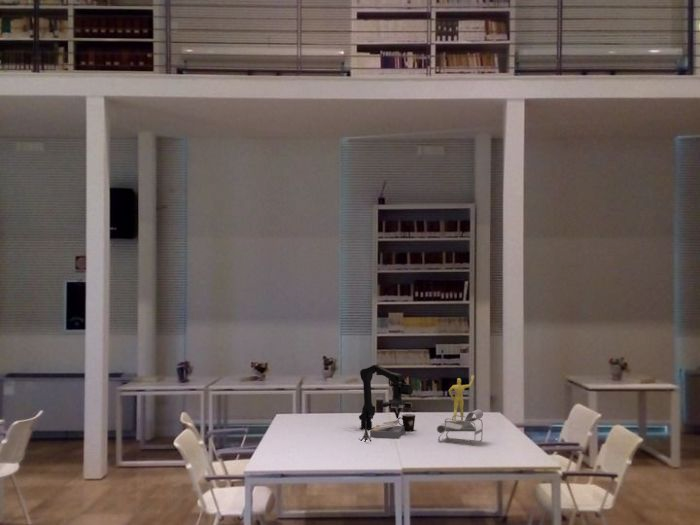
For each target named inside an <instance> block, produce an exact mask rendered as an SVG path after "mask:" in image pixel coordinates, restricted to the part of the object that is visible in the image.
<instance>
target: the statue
mask: <svg viewBox="0 0 700 525" xmlns="http://www.w3.org/2000/svg"><path fill="white" fill-rule="evenodd" d="M470 378H471V380H470V382H469V384H462V379H461V378H460V377H458V378H456V380H457V381H456V384H452V386H451V387H450V388H449V389H448V393H449V395H450V397H451V401H452V402H453V416H454V415H458V413H457V411H458V408H459V411H460V414H459V416H464V415H465V413H464V403H465V402H464V396H463V393H464V391H465V389H468V388H470V387H472V385H473V381H474V379H475V375H471V377H470ZM453 390H454V392H455V394H454V395H453V394H452V391H453ZM453 419H455V420H453V422H452V420H446V423H447V422H450V423H454V424H459V425H463V423H464V422H463V421H464V417H460V419H461V420H462V421H457V416H454V418H453ZM447 428H449V427H446V429H447ZM449 430H450V429H449ZM449 430H447V431H446V432H448V431H449ZM449 432H476V431H475V426H474V424H473V423H469V425H468V426H466V427H464V428H462V429H453V428H452V429H451V430H450V431H449Z"/></svg>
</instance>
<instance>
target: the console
mask: <svg viewBox="0 0 700 525" xmlns="http://www.w3.org/2000/svg"><path fill="white" fill-rule="evenodd" d="M381 425H382V424H376V426H374V427H372V428H371V429H370V431H369V438H371V437H373V438H375V439H378V438H379V439H395V440H396V439H398V440H399V439H400V438H401V436H403V435H404V434H405V433H406V431H405V426H402V425H396V426H395V427H390V428H384V429H379V427H380V426H381ZM373 438H372V439H373Z"/></svg>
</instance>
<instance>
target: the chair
mask: <svg viewBox="0 0 700 525" xmlns="http://www.w3.org/2000/svg"><path fill="white" fill-rule="evenodd" d="M474 415H475V417H474ZM454 416H456V417H458V418H459V417H460V418H461V417H463V418H465V419H464V420H463V422H464V423H463V425H459V424H454V423H450V422H447V423H446V421H448V420H449V421H452V422H453V421H454V420H455V419H454ZM483 416H484V412H483V411H482V410H481V409H479V408H478V409H475V410H473V411H471V412H468V413H467V415H466V416H464V415H463V416H461V415H458V414H457V415H454V414H453V416H452V418H448V417H447V418H445V419H444V423H441V424H439V425H438V426H437V427H436V431H437V433H439V434H440V435H439V436H438V439H437V440H438V442H439V443H443V444H444V443H445V444H452V443H453V444H455V445H462V443H459V442H452V441H451V442H449V441H441V439H440V438H441V436H442V435H443V434H444V433H445V432H446V433H445V436H446V439H448V440H456V438H453V437H449V436H448V434H449V432H451V431H450V430H451V429H452V428H453V429H462V428H464V427H466V426H468V425H469V423H471V424H472V425H473V427H474V428H475V431H474V436H476V435H478V434H480V433H483V426H484V425H483V420H482V419H481V418H482V417H483ZM477 420H479V421H481V429H479V430H477V428H476V424H475V423H474V422H475V421H477ZM456 421H462V420H460V419H456ZM446 427H449V428H447V429H446ZM449 429H450V430H449ZM447 430H449V431H447ZM480 437H481V439H480V440H476V437H474V439H468V440H469V441H468V442H474V443H473V444H471V443H464V444H465V446H474V445H476V442H478V441H479V443H480V442H482V441H483V434H481V436H480ZM458 439H459V441H467V439H464V438H458Z"/></svg>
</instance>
